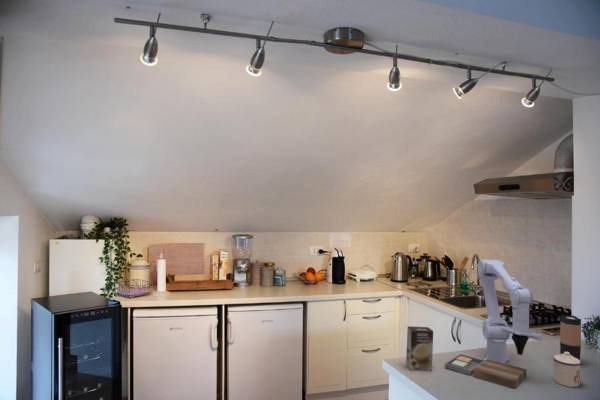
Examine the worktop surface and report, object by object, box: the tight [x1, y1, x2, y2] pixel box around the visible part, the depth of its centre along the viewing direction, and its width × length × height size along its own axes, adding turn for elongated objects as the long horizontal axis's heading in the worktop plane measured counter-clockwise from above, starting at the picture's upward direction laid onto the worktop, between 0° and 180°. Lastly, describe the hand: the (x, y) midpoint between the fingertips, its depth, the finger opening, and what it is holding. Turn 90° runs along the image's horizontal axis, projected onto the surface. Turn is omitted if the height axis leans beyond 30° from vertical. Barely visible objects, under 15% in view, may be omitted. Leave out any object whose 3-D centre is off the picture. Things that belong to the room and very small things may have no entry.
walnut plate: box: [472, 359, 527, 390], centre depth 164 cm, size 16×15×3 cm
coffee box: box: [405, 326, 434, 371], centre depth 171 cm, size 9×6×16 cm
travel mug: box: [559, 314, 582, 361], centre depth 181 cm, size 8×8×20 cm
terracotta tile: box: [456, 356, 472, 366], centre depth 175 cm, size 5×5×2 cm
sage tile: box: [451, 360, 468, 369], centre depth 170 cm, size 5×5×2 cm
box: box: [444, 353, 484, 377], centre depth 173 cm, size 16×10×2 cm, turn 137°
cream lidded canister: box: [552, 352, 582, 388], centre depth 161 cm, size 12×9×12 cm
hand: (520, 354), depth 163 cm, fingers closed
